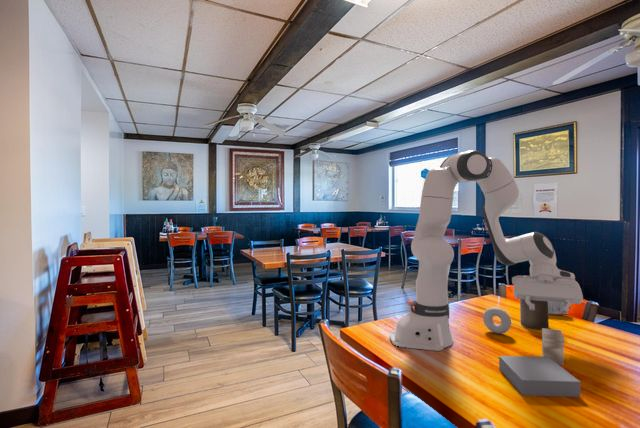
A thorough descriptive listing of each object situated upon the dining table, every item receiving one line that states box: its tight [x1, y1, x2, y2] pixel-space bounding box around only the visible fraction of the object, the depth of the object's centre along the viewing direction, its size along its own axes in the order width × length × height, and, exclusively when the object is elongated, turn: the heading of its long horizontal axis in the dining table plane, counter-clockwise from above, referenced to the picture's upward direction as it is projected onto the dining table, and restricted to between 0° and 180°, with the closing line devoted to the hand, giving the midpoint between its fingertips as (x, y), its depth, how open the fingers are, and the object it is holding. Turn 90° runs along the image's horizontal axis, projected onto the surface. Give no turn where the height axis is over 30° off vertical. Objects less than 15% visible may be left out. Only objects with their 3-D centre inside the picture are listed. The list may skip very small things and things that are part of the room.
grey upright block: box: [541, 328, 565, 366], centre depth 105 cm, size 5×5×9 cm
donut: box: [482, 306, 512, 335], centre depth 128 cm, size 10×4×10 cm, turn 45°
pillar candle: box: [519, 299, 550, 331], centre depth 135 cm, size 10×10×15 cm
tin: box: [548, 301, 566, 316], centre depth 148 cm, size 15×3×8 cm, turn 58°
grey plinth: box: [498, 355, 581, 398], centre depth 92 cm, size 14×14×4 cm
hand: (548, 311), depth 113 cm, fingers open, 8 cm apart
